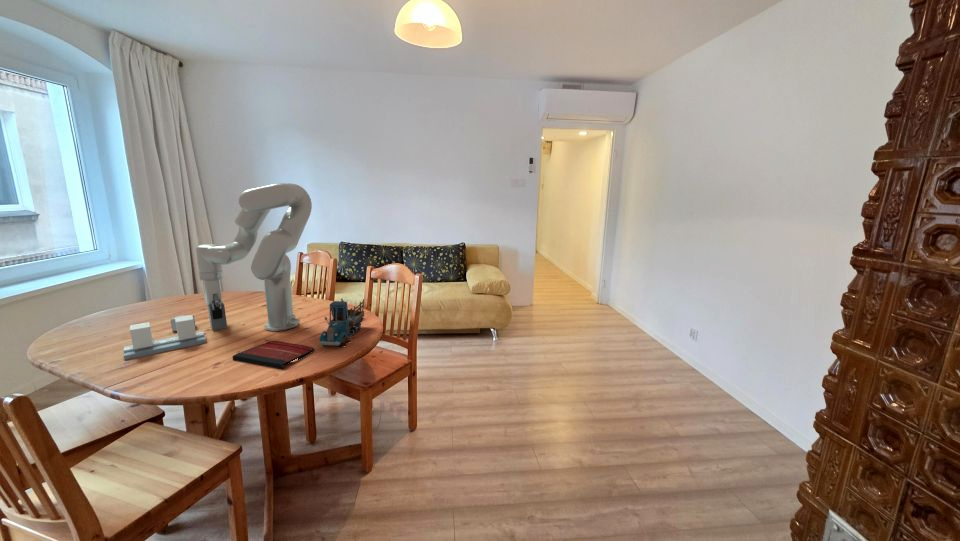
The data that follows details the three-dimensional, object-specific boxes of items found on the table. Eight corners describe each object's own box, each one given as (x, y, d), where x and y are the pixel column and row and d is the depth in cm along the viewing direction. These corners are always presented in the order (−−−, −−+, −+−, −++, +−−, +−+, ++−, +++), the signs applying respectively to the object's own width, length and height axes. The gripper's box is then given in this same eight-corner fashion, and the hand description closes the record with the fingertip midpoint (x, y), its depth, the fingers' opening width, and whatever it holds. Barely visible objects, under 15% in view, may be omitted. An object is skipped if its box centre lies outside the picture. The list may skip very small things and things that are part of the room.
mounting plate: (202, 334, 143) (202, 331, 142) (206, 342, 135) (205, 338, 135) (125, 350, 128) (124, 346, 128) (124, 360, 121) (123, 355, 121)
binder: (282, 364, 116) (231, 355, 122) (282, 370, 117) (232, 361, 122) (317, 346, 131) (271, 339, 137) (317, 352, 132) (271, 344, 138)
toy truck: (315, 349, 132) (311, 310, 128) (342, 324, 156) (340, 291, 153) (344, 350, 131) (341, 311, 128) (367, 325, 156) (365, 292, 152)
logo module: (224, 323, 155) (221, 300, 152) (227, 327, 150) (224, 303, 148) (210, 326, 151) (206, 302, 149) (212, 330, 147) (208, 305, 145)
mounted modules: (194, 332, 139) (191, 314, 137) (196, 336, 135) (193, 319, 133) (133, 344, 128) (130, 325, 126) (133, 349, 123) (129, 330, 122)
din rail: (203, 333, 140) (203, 331, 140) (204, 336, 137) (204, 334, 137) (124, 349, 125) (123, 347, 125) (124, 352, 123) (123, 350, 123)
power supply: (195, 326, 151) (193, 315, 150) (187, 330, 146) (185, 319, 145) (180, 326, 150) (178, 315, 149) (172, 330, 146) (170, 319, 145)
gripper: (196, 272, 150) (202, 311, 153) (202, 280, 137) (207, 323, 141) (219, 270, 155) (223, 308, 158) (226, 278, 142) (230, 319, 146)
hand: (216, 315), depth 150 cm, fingers open, 9 cm apart
